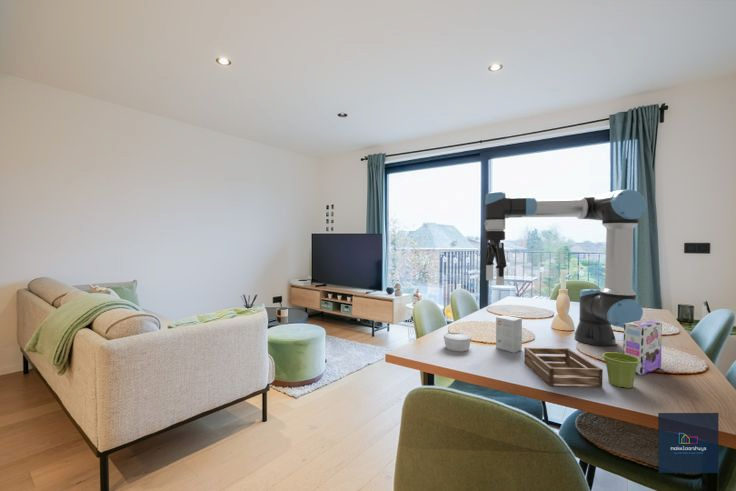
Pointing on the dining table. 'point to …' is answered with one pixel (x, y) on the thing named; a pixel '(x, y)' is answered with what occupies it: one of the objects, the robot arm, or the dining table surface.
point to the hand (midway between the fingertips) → (494, 282)
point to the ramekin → (457, 341)
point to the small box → (509, 333)
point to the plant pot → (621, 368)
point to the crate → (563, 368)
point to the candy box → (644, 344)
